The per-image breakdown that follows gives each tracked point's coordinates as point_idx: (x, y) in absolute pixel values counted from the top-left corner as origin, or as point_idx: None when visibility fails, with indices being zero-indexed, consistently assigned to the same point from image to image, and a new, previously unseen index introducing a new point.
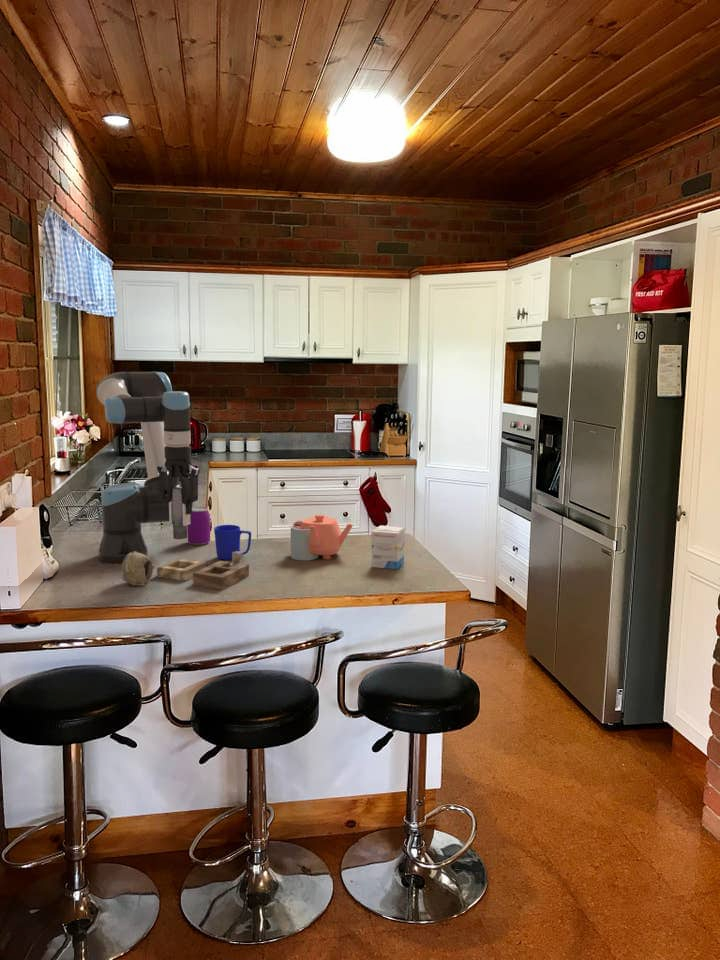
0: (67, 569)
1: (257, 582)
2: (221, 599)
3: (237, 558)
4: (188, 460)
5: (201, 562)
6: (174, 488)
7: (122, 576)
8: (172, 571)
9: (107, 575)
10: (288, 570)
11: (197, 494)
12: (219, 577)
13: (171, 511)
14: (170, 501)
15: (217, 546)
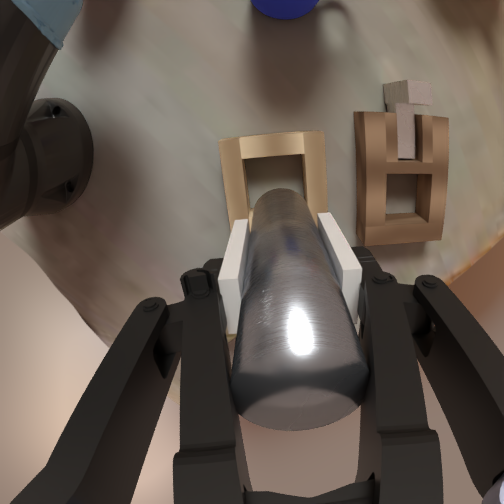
0: (56, 278)
1: (465, 154)
2: (443, 274)
3: (418, 104)
4: None
5: (315, 138)
6: (292, 427)
7: None
8: None
9: (134, 272)
10: (473, 50)
11: (459, 307)
12: (432, 240)
13: None
14: (226, 322)
15: (271, 8)
